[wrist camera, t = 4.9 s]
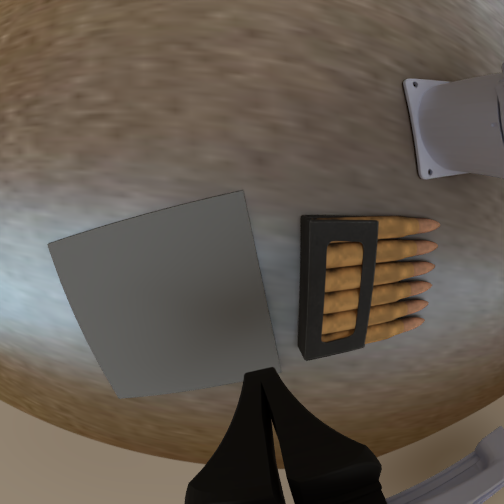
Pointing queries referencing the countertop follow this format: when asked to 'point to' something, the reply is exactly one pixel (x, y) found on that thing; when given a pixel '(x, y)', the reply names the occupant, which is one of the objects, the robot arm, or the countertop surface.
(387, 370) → the countertop surface
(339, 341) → the ammunition clip
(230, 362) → the mat
